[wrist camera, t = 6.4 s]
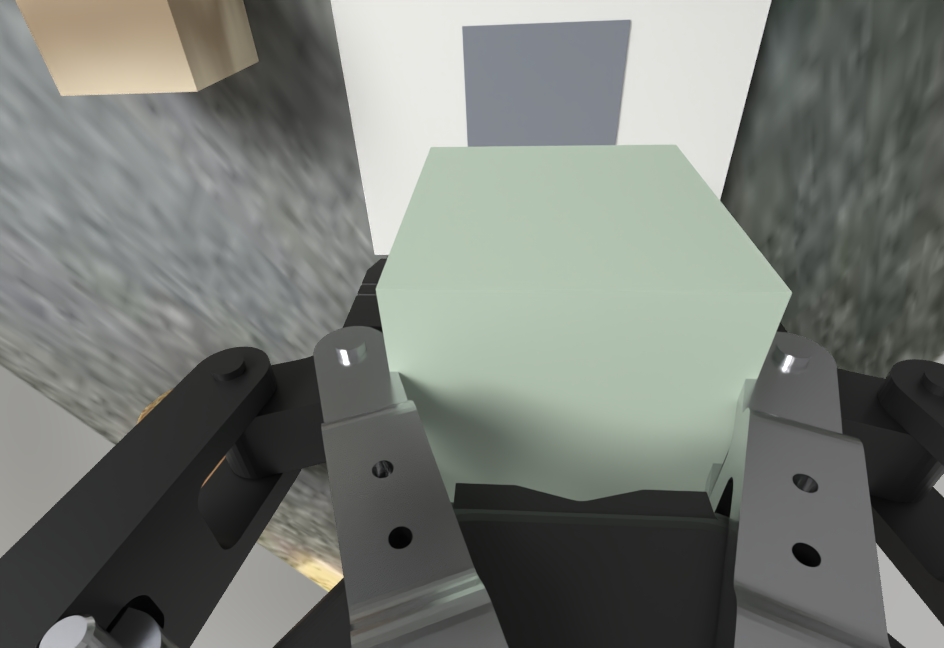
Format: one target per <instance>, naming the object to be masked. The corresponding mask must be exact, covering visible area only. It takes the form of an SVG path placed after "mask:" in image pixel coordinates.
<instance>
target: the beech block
mask: <svg viewBox="0 0 944 648" xmlns="http://www.w3.org/2000/svg"><path fill="white" fill-rule="evenodd" d="M15 1H16V3H17V5H18V7H19V9H20V11H21V13H22V15H23V17H24V19H25V21H26V24H27V26H28V28H29V30H30V32H31V34H32V36H33V38H34V40H35V42H36V44H37V46H38V48H39V51H40V53H41V55H42V57H43V59H44V61H45V63H46V65H47V67H48V69H49V71H50V73H51V75H52V78H53V80H54V82H55V84H56V86H57V88H58V90H59V92H60V94H61V96H72V95H104V94H136V93H168V92H198V91H200V90H202V89H204V88H206V87H208V86H210V85H212V84H214V83H216V82H218V81H220V80H222V79H224V78H226V77H228V76H231V75H233V74H235V73H237V72H239V71H241V70H243V69H245V68H247V67H249V66H251V65H253V64H255V63H257V62H259V60H258V56H257V52H256V48H255V44H254V40H253V37H252V33H251V29H250V25H249V21H248V17H247V13H246V10H245V6H244V2H243V0H15Z"/></svg>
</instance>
